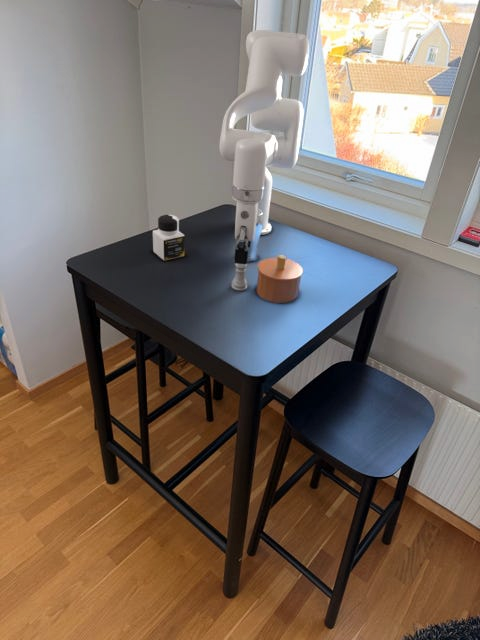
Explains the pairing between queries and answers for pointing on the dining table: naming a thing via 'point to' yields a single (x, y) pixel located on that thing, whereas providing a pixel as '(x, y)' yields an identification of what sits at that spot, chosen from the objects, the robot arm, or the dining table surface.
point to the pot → (277, 289)
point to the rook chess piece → (240, 278)
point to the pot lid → (280, 268)
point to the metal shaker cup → (255, 238)
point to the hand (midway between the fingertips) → (242, 254)
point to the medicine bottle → (168, 238)
